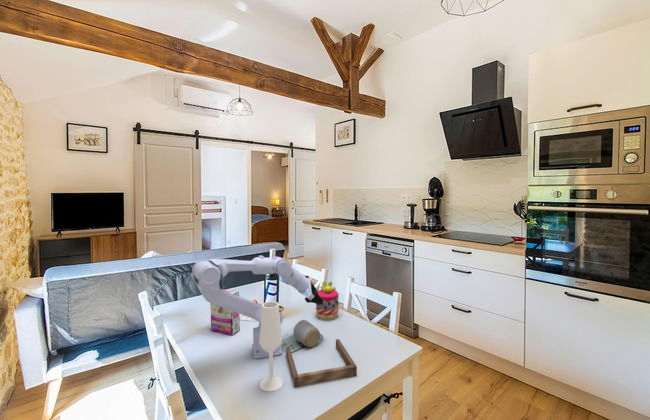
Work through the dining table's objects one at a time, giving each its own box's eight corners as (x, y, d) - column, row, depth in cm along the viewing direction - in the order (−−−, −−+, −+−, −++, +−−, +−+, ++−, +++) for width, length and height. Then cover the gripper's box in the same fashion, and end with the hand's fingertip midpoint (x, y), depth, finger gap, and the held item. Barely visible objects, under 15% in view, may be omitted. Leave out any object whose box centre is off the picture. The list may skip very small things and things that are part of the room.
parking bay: (294, 387, 83) (294, 377, 83) (286, 355, 100) (286, 346, 100) (356, 375, 89) (356, 366, 89) (338, 346, 105) (338, 339, 105)
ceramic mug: (305, 351, 102) (306, 330, 102) (292, 342, 108) (292, 322, 108) (328, 341, 109) (328, 322, 109) (314, 333, 115) (314, 315, 115)
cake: (342, 318, 129) (342, 285, 128) (320, 322, 125) (320, 288, 124) (332, 309, 138) (332, 279, 137) (312, 313, 134) (312, 281, 133)
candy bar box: (240, 330, 118) (239, 291, 117) (232, 336, 113) (231, 295, 112) (219, 325, 122) (218, 287, 121) (210, 331, 117) (209, 291, 116)
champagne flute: (283, 375, 89) (282, 299, 87) (282, 390, 82) (281, 308, 81) (261, 377, 88) (259, 300, 87) (258, 392, 82) (257, 309, 80)
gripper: (309, 281, 102) (332, 300, 108) (298, 262, 114) (319, 280, 121) (295, 296, 101) (318, 313, 108) (285, 274, 114) (307, 292, 121)
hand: (318, 296), depth 114 cm, fingers open, 7 cm apart
